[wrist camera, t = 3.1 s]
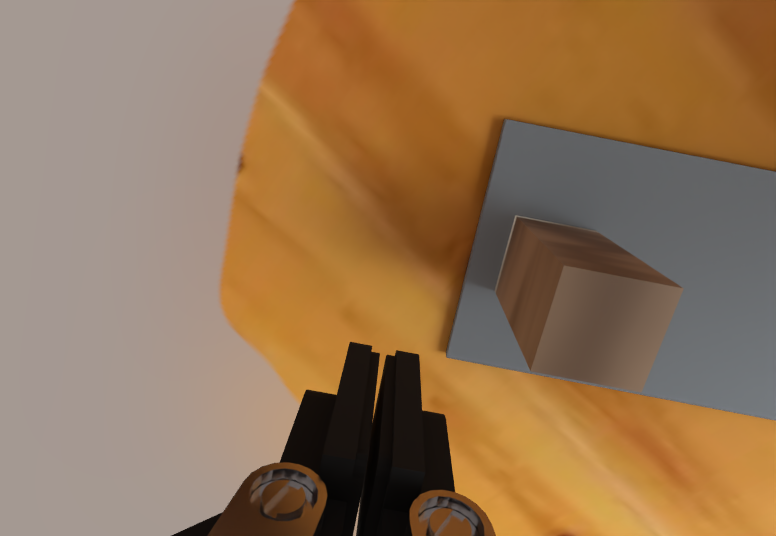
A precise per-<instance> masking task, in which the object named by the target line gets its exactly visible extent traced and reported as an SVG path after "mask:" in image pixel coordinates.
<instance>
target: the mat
mask: <svg viewBox="0 0 776 536" xmlns="http://www.w3.org/2000/svg"><path fill="white" fill-rule="evenodd" d="M515 215H517V216H522V217H528V218H533V219H538V220H543V221H548V222H553V223H559V224H564V225H569V226H574V227H579V228H584V229H590V230H595V231H597V232H599V233H600V234H602V235H603V236H605V237H606V238H608V239H609V240H611V241H612V242H614V243H615V244H617V245H619V246H620V247H622V248H623V249H625V250H626V251H628V252H629V253H631V254H632V255H634V256H635V257H637V258H638V259H640V260H641V261H643V262H644V263H646V264H647V265H649V266H650V267H652V268H653V269H655V270H656V271H658V272H660V273H661V274H663V275H664V276H666V277H667V278H669V279H670V280H672V281H673V282H675V283H676V284H678V285H679V286H681V287H682V288H684V289H683V292H682V294H681V297H680V299H679V302H678V304H677V306H676V309H675V311H674V314H673V316H672V319H671V321H670V324H669V326H668V329H667V331H666V333H665V336H664V338H663V341H662V343H661V346H660V348H659V351H658V353H657V356H656V358H655V360H654V363H653V365H652V368H651V370H650V373H649V375H648V378H647V380H646V383H645V385H644V387H643V390H642V392H636V391H631V390H625V389H620V388H615V387H610V386H604V385H599V384H594V383H589V382H584V381H578V380H573V379H568V378H563V377H557V376H552V375H547V374H542V373H536V372H531V371H530V369H529V367H528V365H527V363H526V360H525V358H524V356H523V354H522V351H521V349H520V347H519V345H518V342H517V340H516V338H515V336H514V333H513V331H512V329H511V327H510V324H509V322H508V320H507V318H506V315H505V313H504V311H503V309H502V306H501V304H500V302H499V300H498V297H497V295H496V293H495V287H496V284H497V280H498V276H499V273H500V269H501V266H502V262H503V258H504V255H505V251H506V247H507V244H508V240H509V236H510V233H511V229H512V225H513V222H514V218H515ZM446 357H447V358H452V359H457V360H462V361H468V362H473V363H478V364H483V365H488V366H494V367H499V368H504V369H509V370H515V371H520V372H525V373H530V374H536V375H541V376H546V377H551V378H556V379H562V380H567V381H572V382H577V383H583V384H588V385H593V386H598V387H604V388H609V389H614V390H619V391H624V392H630V393H635V394H640V395H645V396H651V397H656V398H661V399H666V400H672V401H677V402H682V403H687V404H692V405H698V406H703V407H708V408H713V409H719V410H724V411H729V412H734V413H740V414H745V415H750V416H755V417H760V418H766V419H771V420H776V172H774V171H769V170H764V169H759V168H754V167H748V166H743V165H738V164H733V163H728V162H723V161H718V160H713V159H707V158H702V157H697V156H692V155H687V154H682V153H677V152H672V151H666V150H661V149H656V148H651V147H646V146H641V145H636V144H631V143H625V142H620V141H615V140H610V139H605V138H600V137H595V136H590V135H584V134H579V133H574V132H569V131H564V130H559V129H554V128H549V127H543V126H538V125H533V124H528V123H523V122H518V121H513V120H508V119H504V122H503V126H502V130H501V134H500V138H499V142H498V146H497V150H496V154H495V158H494V162H493V166H492V170H491V174H490V178H489V182H488V186H487V190H486V194H485V198H484V202H483V206H482V210H481V214H480V218H479V222H478V226H477V230H476V234H475V238H474V242H473V246H472V250H471V254H470V258H469V262H468V266H467V270H466V274H465V278H464V282H463V286H462V290H461V294H460V298H459V302H458V306H457V310H456V314H455V318H454V322H453V326H452V330H451V334H450V338H449V342H448V346H447V350H446Z"/></svg>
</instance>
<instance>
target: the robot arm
mask: <svg viewBox="0 0 776 536" xmlns="http://www.w3.org/2000/svg"><path fill="white" fill-rule="evenodd" d="M371 350H372V346H370V345H364V344H359V343H354V342H350V344H349V348H348V352H347V356H346V360H345V364H344V368H343V372H342V376H341V380H340V384H339V388H338V392H337V395H334V394H328V393H323V392H317V391H312V390H306V392H305V394H304V397H303V399H302V402H301V405H300V408H299V411H298V413H297V416H296V419H295V421H294V424H293V427H292V430H291V432H290V435H289V438H288V441H287V444H286V446H285V449H284V452H283V455H282V457H281V460H280V463H273V464H269V465H266V466H262V467H260V468H259V469H257V470H256V471H254V472H252V473H251V474H250V475H249V476H248V477H247V478H246V479H245V480H244V481H243V483H242V485H241V486H240V488H239V489H238V491H237V492H236V493H235V495H234V496H233V498H232V500H231V501H230V503H229V504H228V506H227V507H226V508H225V510H224V511H223V512H222V513H220V514H218V515H216V516H214V517H211V518H209V519H207V520H205V521H203V522H200V523H198V524H196V525H194V526H192V527H189V528H187V529H185V530H183V531H181V532H178V533H176V534H174V535H172V536H353V531H354V526H355V522H356V517H357V512H358V507H359V503H360V508H359V516H358V525H357V533H356V536H496V535H495V532H494V529H493V527H492V524H491V522H490V521H489V519H488V517H487V515H486V514H485V512H484V511H483V510H482V509H481V508H480V507H479V506H478V505H477V504H476V503H474V502H473V501H471V500H470V499H468V498H467V497H465V496H463V495H460V494H458V493H456V492H455V487H454V480H453V472H452V464H451V456H450V448H449V441H448V433H447V425H446V418H445V415H444V414H439V413H433V412H428V411H422V400H421V381H420V362H419V354H413V353H408V352H403V351H397V350H396V353H395V356H391V355H387V356H386V360H385V364H384V369H383V374H382V379H381V384H380V389H379V394H378V398H377V403H376V408H375V413H374V418H373V411H374V402H375V393H376V384H377V375H378V366H379V357H380V353H375V352H371ZM372 420H373V423H372ZM360 498H361V499H360Z"/></svg>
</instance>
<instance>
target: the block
mask: <svg viewBox="0 0 776 536" xmlns="http://www.w3.org/2000/svg"><path fill="white" fill-rule="evenodd" d="M683 289H684V288H682V287H681V286H679V285H678V284H676V283H675V282H673V281H672V280H670V279H669V278H667V277H666V276H664V275H663V274H661V273H660V272H658V271H656V270H655V269H653V268H652V267H650V266H649V265H647V264H646V263H644V262H643V261H641V260H640V259H638V258H637V257H635V256H634V255H632V254H631V253H629V252H628V251H626V250H625V249H623V248H622V247H620V246H619V245H617V244H615V243H614V242H612V241H611V240H609V239H608V238H606V237H605V236H603V235H602V234H600V233H599V232H597V231H595V230H590V229H584V228H579V227H574V226H569V225H564V224H559V223H553V222H548V221H543V220H538V219H533V218H528V217H522V216H517V215H515V218H514V222H513V225H512V229H511V233H510V236H509V240H508V244H507V247H506V251H505V255H504V258H503V262H502V266H501V269H500V273H499V276H498V280H497V284H496V287H495V293H496V295H497V297H498V300H499V302H500V304H501V306H502V309H503V311H504V313H505V315H506V318H507V320H508V322H509V324H510V327H511V329H512V331H513V333H514V336H515V338H516V340H517V342H518V345H519V347H520V349H521V351H522V354H523V356H524V358H525V360H526V363H527V365H528V367H529V369H530V371H531V372H536V373H542V374H547V375H552V376H557V377H563V378H568V379H573V380H578V381H584V382H589V383H594V384H599V385H604V386H610V387H615V388H620V389H625V390H631V391H636V392H642V390H643V387H644V385H645V383H646V380H647V378H648V375H649V373H650V370H651V368H652V365H653V363H654V360H655V358H656V356H657V353H658V351H659V348H660V346H661V343H662V341H663V338H664V336H665V333H666V331H667V329H668V326H669V324H670V321H671V319H672V316H673V314H674V311H675V309H676V306H677V304H678V302H679V299H680V297H681V294H682V292H683Z"/></svg>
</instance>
